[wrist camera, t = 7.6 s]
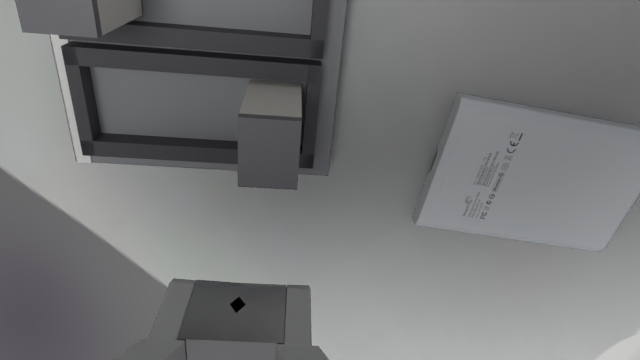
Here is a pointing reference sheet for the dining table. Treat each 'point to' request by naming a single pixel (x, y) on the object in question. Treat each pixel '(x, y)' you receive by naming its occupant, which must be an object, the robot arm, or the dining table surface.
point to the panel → (199, 80)
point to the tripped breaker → (269, 135)
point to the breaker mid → (76, 16)
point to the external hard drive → (531, 175)
